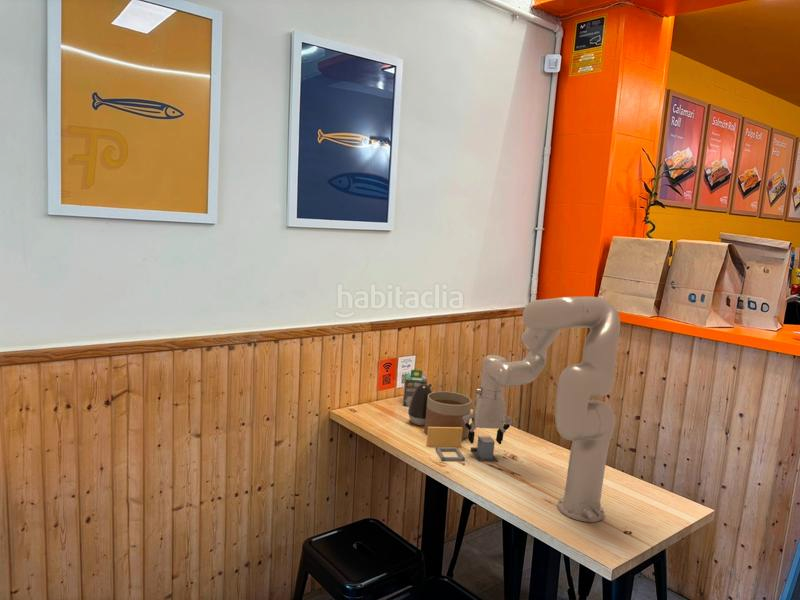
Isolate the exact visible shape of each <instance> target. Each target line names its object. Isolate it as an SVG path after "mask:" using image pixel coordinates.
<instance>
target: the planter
mask: <svg viewBox="0 0 800 600" xmlns="http://www.w3.org/2000/svg"><path fill="white" fill-rule="evenodd" d="M471 408H472V399H471V398H470V397H468V395H464V394H463V393H459V392H453V391H443V390H440V391H432V393H430V394H428V398H427V408H426V418H425V425H424V432H425V434H426V435H427V433H428V427H462V428H463V432H462V441H464V440H465V439H468V431H469V429H468V428H467V427H466V426H465V424H464V422H463V419H462V417H464V416H466V415H468V414H470V413H471V410H472V409H471ZM470 420H471V419H469V420H468V424H469V425H470Z"/></svg>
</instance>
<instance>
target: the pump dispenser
mask: <svg viewBox="0 0 800 600" xmlns="http://www.w3.org/2000/svg"><path fill="white" fill-rule="evenodd" d="M431 387H432V384H431V383H429V384H427V385H426V384H421V385H419V386H418V387H417V388H416V390H415V392H414V394H413V396H412V399H411V401H410V405H409V406H408V409H407V415H408V417H409V420H410V421H411V422H412V423H413V424H415V425H417V426H425V418H426V408H427V398H428V394H430V393H432V392H433V390H432V389H431Z"/></svg>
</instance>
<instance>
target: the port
mask: <svg viewBox="0 0 800 600" xmlns="http://www.w3.org/2000/svg"><path fill="white" fill-rule="evenodd" d="M462 432H463V428H462V427H428V433H427V434H426V447H427V448H428V447H435V453H436V454H437V456H438V457H439V459H440V460H441V462H465V460H466V458H465V456H464V455H463V453H462V452H461V451H460V448H462V441H463V440H462ZM443 452H444V453H445V452H446V453H447V452H448V453H455V454H456V455H457V456H445V455H444V454H443Z"/></svg>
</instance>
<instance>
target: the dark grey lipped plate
mask: <svg viewBox="0 0 800 600" xmlns="http://www.w3.org/2000/svg"><path fill="white" fill-rule="evenodd" d="M470 452H471V454H472V455H473V456H474V457H475V459H476V460H477V462H478V463H484V462H485V463H486V462H487V463H490V462H491V463H498V462H499V460H498V458H497V457H496V456H495V454H493V459H481V458H480V457H479V456H478V454H477V446H476V447H475V446H473V447H472V446H471V447H470Z"/></svg>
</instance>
